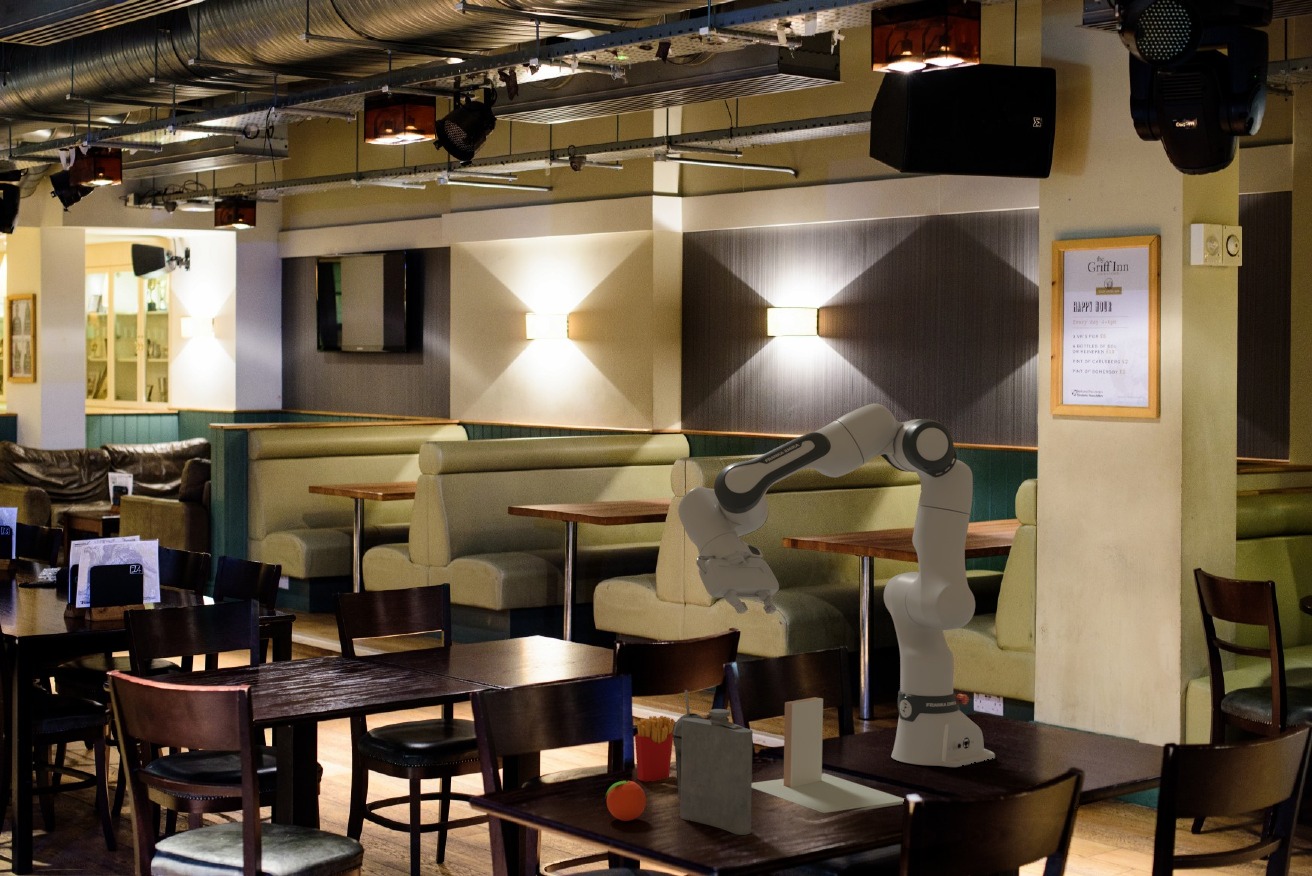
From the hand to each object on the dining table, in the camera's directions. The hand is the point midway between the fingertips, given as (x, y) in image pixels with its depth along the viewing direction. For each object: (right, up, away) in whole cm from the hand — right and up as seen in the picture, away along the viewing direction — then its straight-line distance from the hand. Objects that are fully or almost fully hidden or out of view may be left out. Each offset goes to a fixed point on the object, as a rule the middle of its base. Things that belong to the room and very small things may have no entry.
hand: (757, 612), depth 307 cm
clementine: (-26, -33, -38) cm, 56 cm away
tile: (+8, -32, -9) cm, 34 cm away
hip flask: (-10, -33, -39) cm, 52 cm away
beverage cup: (-14, -33, -20) cm, 40 cm away
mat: (+11, -33, -17) cm, 39 cm away
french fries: (-21, -32, -5) cm, 39 cm away
